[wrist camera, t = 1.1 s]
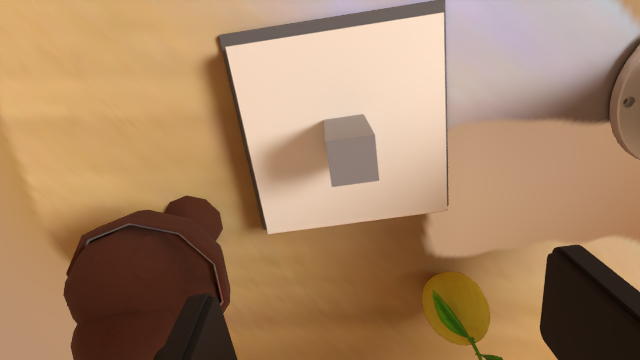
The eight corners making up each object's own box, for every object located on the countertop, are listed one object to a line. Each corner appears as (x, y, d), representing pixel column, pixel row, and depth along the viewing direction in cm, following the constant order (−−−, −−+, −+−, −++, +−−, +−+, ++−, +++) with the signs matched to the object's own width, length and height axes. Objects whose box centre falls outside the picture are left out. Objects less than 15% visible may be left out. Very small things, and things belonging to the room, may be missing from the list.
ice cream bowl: (271, 247, 35) (240, 389, 21) (171, 284, 37) (81, 439, 23) (218, 150, 31) (138, 244, 17) (109, 196, 33) (-44, 315, 19)
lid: (433, 14, 27) (480, 6, 19) (438, 198, 33) (476, 250, 25) (233, 45, 28) (199, 50, 20) (271, 220, 33) (257, 277, 26)
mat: (443, -1, 27) (445, -1, 27) (446, 203, 33) (448, 205, 33) (219, 35, 28) (218, 35, 28) (264, 227, 34) (264, 229, 34)
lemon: (471, 303, 38) (521, 392, 28) (414, 309, 38) (445, 398, 29) (474, 248, 35) (529, 325, 26) (413, 254, 35) (446, 333, 26)
